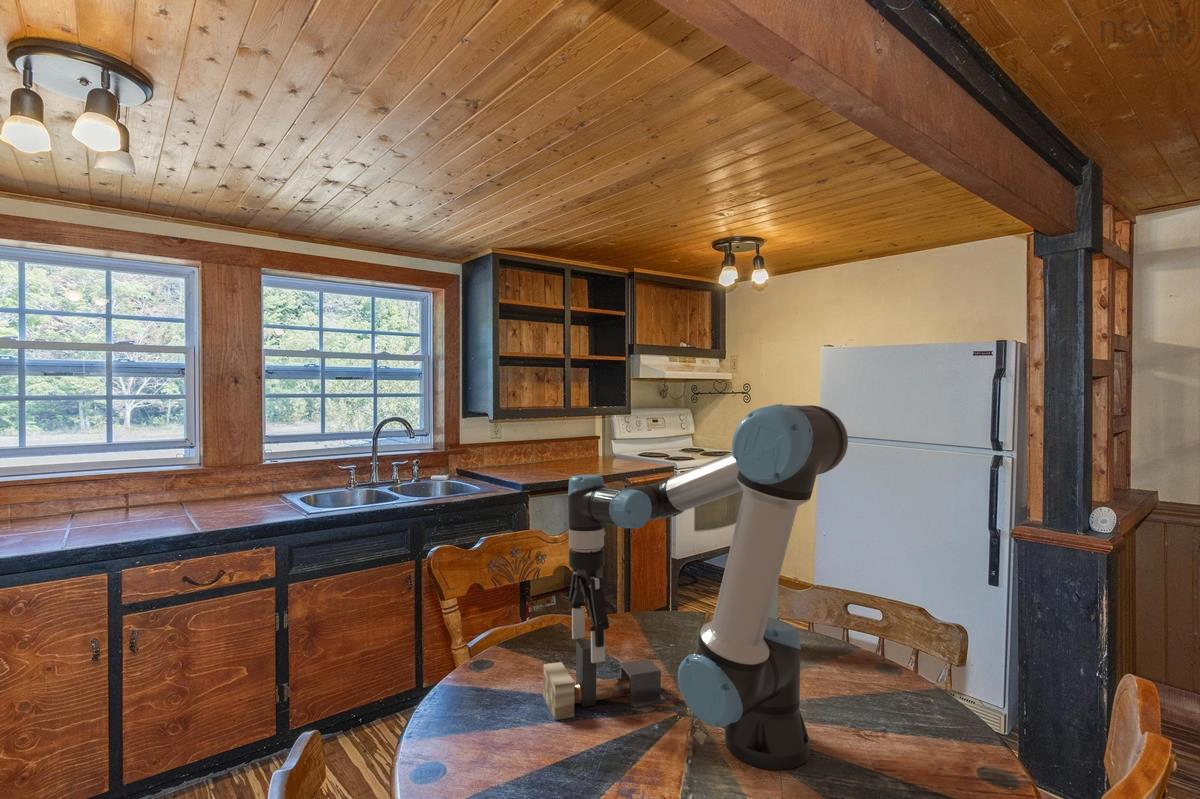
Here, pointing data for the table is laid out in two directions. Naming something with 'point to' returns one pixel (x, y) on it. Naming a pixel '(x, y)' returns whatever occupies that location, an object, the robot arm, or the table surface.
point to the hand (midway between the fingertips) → (587, 649)
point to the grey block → (643, 682)
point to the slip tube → (594, 679)
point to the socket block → (558, 690)
